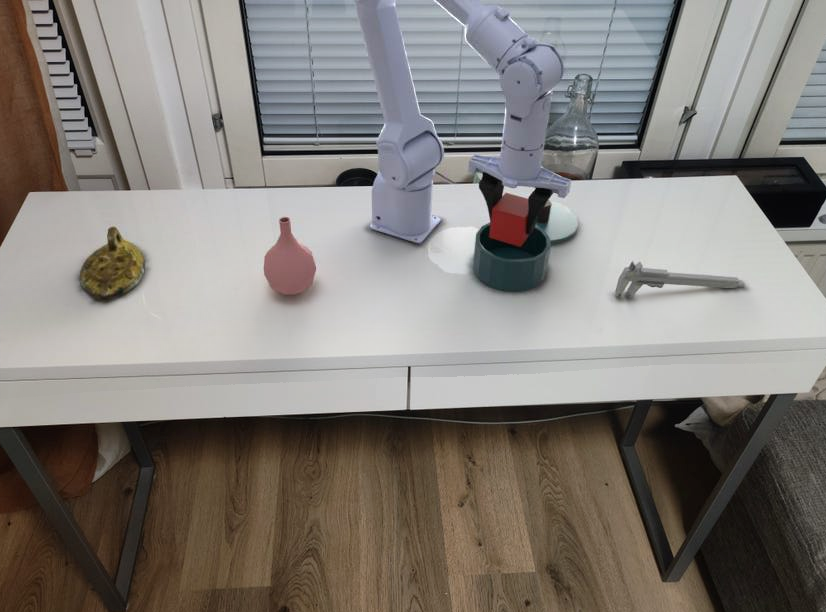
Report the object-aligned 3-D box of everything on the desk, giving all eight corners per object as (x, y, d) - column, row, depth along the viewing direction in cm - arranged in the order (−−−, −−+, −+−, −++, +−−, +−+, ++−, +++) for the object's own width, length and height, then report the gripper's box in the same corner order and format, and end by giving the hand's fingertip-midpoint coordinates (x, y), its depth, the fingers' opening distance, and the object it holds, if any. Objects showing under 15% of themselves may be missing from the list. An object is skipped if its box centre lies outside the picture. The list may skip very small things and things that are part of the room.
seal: (142, 305, 112) (148, 246, 123) (138, 280, 109) (145, 221, 119) (74, 306, 110) (87, 245, 121) (69, 280, 107) (82, 220, 118)
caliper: (616, 300, 113) (625, 266, 108) (613, 295, 113) (622, 261, 109) (744, 288, 115) (758, 254, 111) (741, 283, 116) (754, 250, 112)
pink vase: (264, 274, 116) (255, 207, 108) (314, 269, 117) (308, 202, 109) (268, 306, 111) (258, 238, 102) (320, 300, 112) (314, 232, 103)
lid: (492, 233, 125) (495, 210, 122) (519, 198, 133) (522, 176, 130) (563, 254, 121) (567, 231, 118) (587, 216, 129) (591, 194, 126)
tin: (461, 278, 116) (463, 248, 112) (489, 240, 123) (493, 212, 119) (530, 300, 112) (535, 270, 109) (555, 260, 120) (560, 231, 116)
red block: (488, 237, 112) (492, 208, 108) (502, 221, 115) (505, 192, 111) (520, 247, 110) (525, 217, 107) (533, 230, 113) (537, 201, 110)
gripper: (462, 140, 102) (455, 225, 111) (564, 167, 97) (549, 253, 107) (483, 119, 107) (475, 202, 116) (582, 143, 102) (565, 228, 111)
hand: (512, 225), depth 112 cm, fingers closed on red block, 5 cm apart
